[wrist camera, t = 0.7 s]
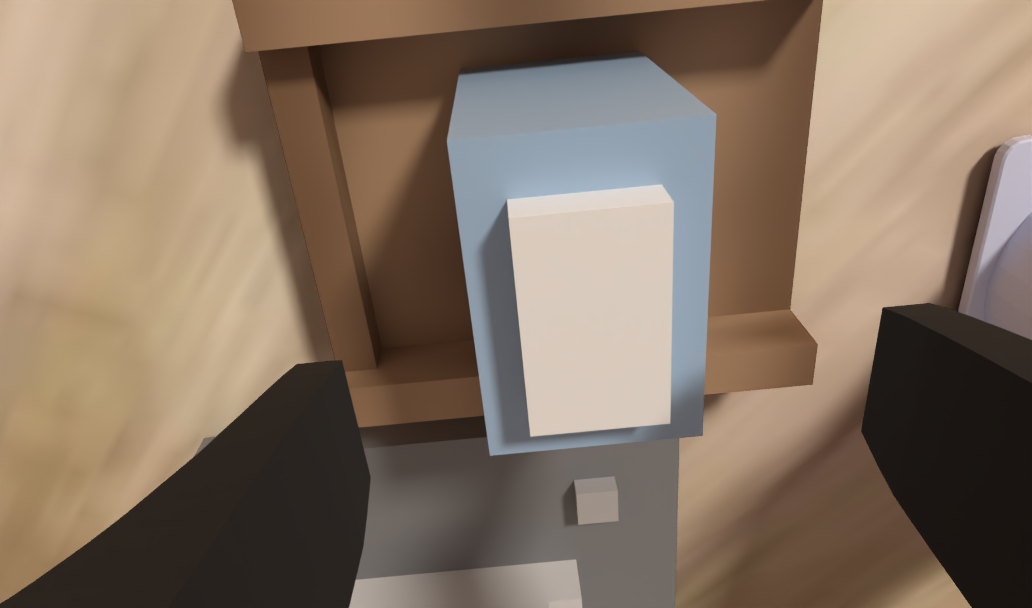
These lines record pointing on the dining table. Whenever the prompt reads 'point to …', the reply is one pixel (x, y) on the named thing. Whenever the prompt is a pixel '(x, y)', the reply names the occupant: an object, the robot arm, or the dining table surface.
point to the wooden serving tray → (429, 188)
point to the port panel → (515, 522)
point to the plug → (584, 248)
